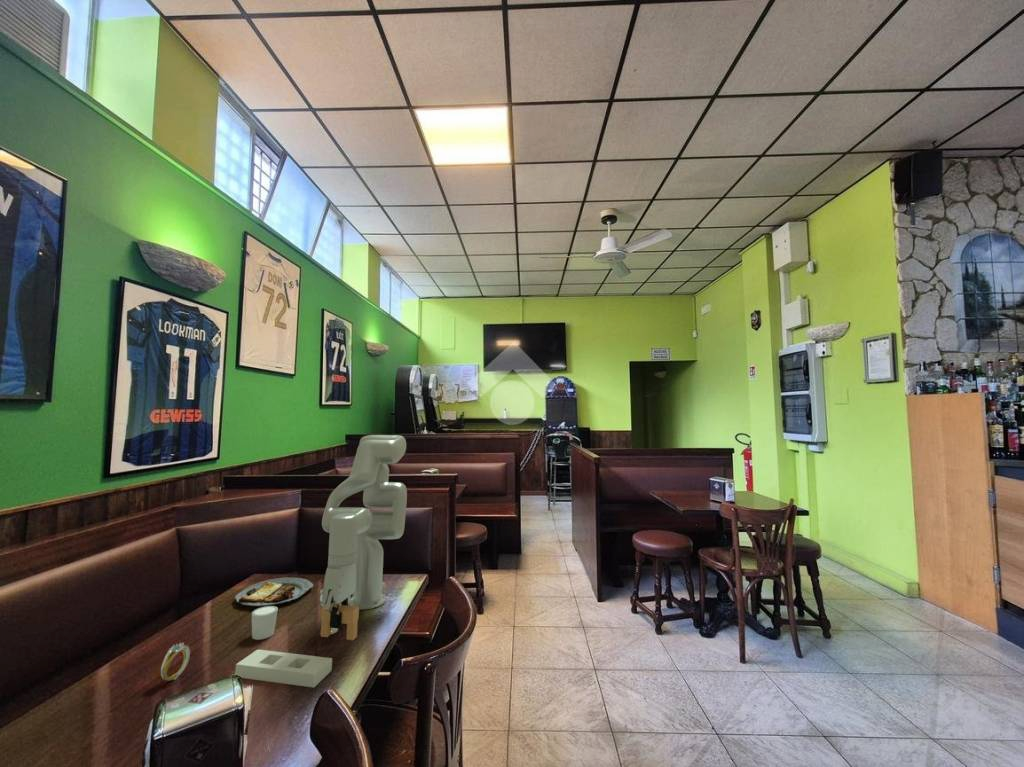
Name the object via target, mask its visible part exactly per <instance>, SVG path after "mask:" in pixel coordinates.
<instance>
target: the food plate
mask: <svg viewBox="0 0 1024 767" xmlns="http://www.w3.org/2000/svg"><path fill="white" fill-rule="evenodd" d="M313 587H314V584H313V582H311V581H310V580H309V579H305V578H301V577H297V576H296V577H295V576H294V577H280V578H270V579H267V580H266V579H265V580H262V581H260V582H257V583H254V584H250V585H249V586H247V587H245V588H244V589H242V590H241V591H239V592H238V593H237V594H236V595H235V596H234V601H235V602H236V604H239V605H241V606H247V607H249V606H250V607H256V608H257V607H258V608H261V607H266V606H275V605H280V604H284V603H285V604H287V603H289V602H291V601H292V600H293V601H295V600H297V599H298V598H300V597H301V598H302V596H303V595H304V594H306V593H307V592H308V591H309V590H310V589H311V588H313Z"/></svg>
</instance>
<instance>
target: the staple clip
mask: <svg viewBox="0 0 1024 767" xmlns="http://www.w3.org/2000/svg"><path fill="white" fill-rule="evenodd" d="M325 606H326V605H325ZM325 606H321V608H320V622H321V624H320V625H321V626H320V637H322V638H323V637H324V638H328V637H329V636H330V635H332V634H331V631H332V628H330V614H329V611H325ZM334 607H336V608H337V605H334ZM340 613H342V621H341V624H345V625H346V640H347V641H354V640H355V639H356V638H357V637H358V622H359V617H360V616H359V613H360V610H359V607H358V606H348V605H341V612H340Z"/></svg>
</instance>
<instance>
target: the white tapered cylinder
mask: <svg viewBox="0 0 1024 767" xmlns="http://www.w3.org/2000/svg"><path fill="white" fill-rule="evenodd" d="M278 610H279V608H278V607H277V606H275V605H268V606H260V607H258V608H256V609H254V610H252V612H251V639H253V640H265V639H267V638H270V637H272V636H273V635H274V633H275V627H276V622H277V615H278Z"/></svg>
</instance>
